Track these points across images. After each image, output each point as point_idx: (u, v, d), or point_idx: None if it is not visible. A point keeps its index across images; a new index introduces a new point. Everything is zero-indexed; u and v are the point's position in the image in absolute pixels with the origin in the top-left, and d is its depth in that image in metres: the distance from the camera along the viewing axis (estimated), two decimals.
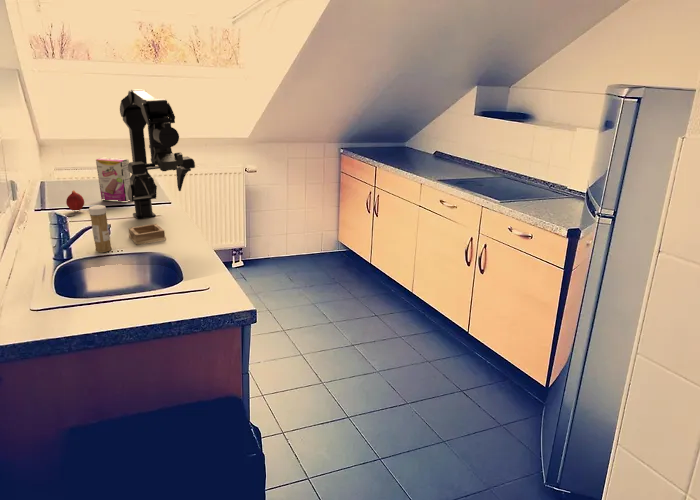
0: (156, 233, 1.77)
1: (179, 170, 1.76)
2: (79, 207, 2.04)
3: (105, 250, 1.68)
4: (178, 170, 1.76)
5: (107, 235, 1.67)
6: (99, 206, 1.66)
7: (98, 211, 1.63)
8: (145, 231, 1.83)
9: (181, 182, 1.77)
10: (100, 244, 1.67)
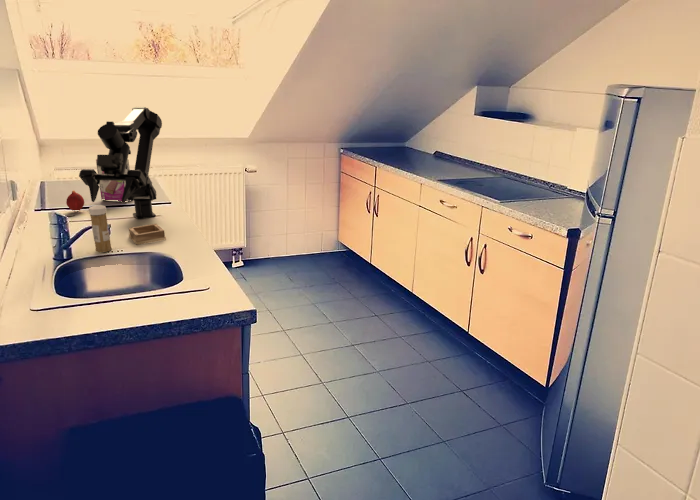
0: (156, 233, 1.77)
1: None
2: (79, 207, 2.04)
3: (105, 250, 1.68)
4: None
5: (107, 235, 1.67)
6: (99, 206, 1.66)
7: (98, 211, 1.63)
8: (145, 231, 1.83)
9: (125, 191, 1.72)
10: (100, 244, 1.67)
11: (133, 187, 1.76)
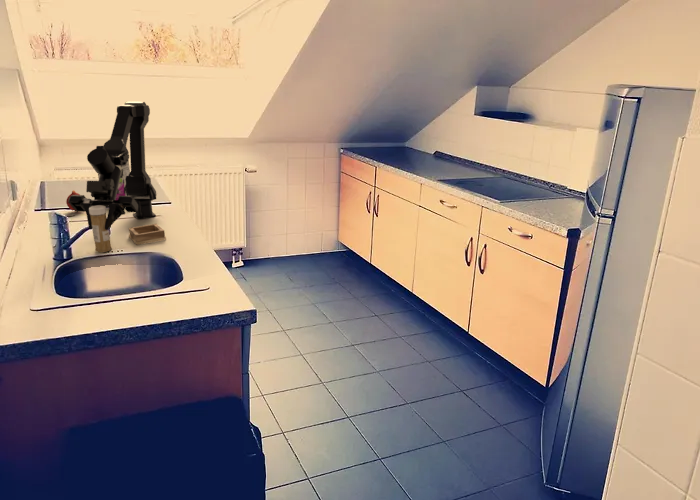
0: (156, 233, 1.77)
1: None
2: None
3: (105, 250, 1.68)
4: None
5: (107, 235, 1.67)
6: (99, 206, 1.66)
7: (98, 211, 1.63)
8: (145, 231, 1.83)
9: (108, 218, 1.66)
10: (100, 244, 1.67)
11: (117, 213, 1.69)
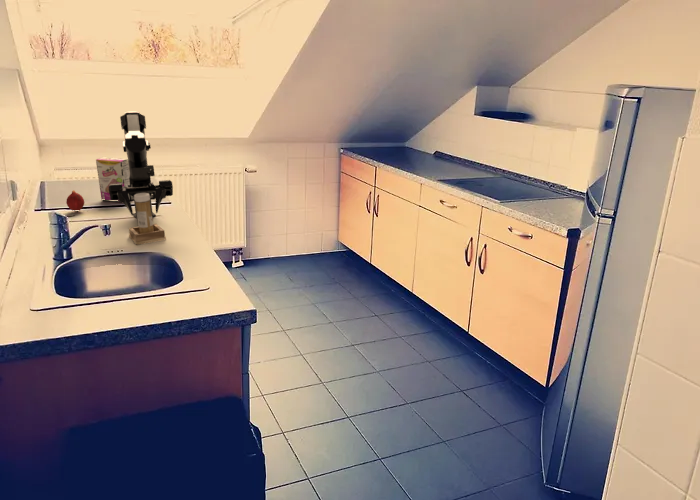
0: (156, 233, 1.77)
1: None
2: (79, 207, 2.04)
3: None
4: None
5: (152, 220, 1.79)
6: (143, 193, 1.76)
7: (146, 198, 1.74)
8: None
9: (157, 202, 1.78)
10: (147, 229, 1.77)
11: (160, 197, 1.81)
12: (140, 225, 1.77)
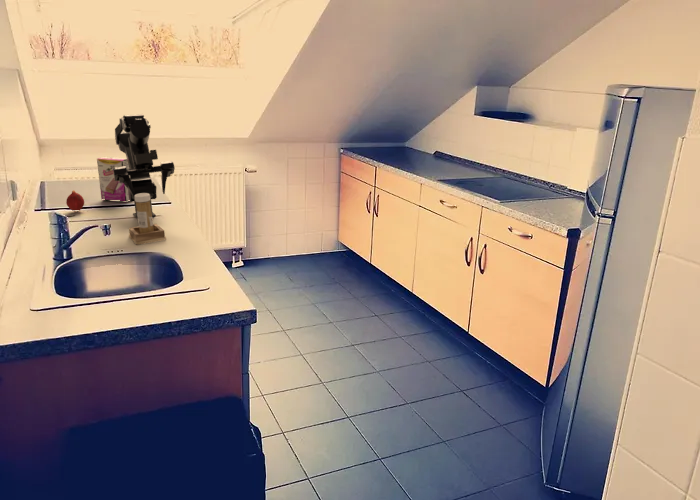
0: (156, 233, 1.77)
1: (161, 174, 1.88)
2: (79, 207, 2.04)
3: None
4: (161, 175, 1.89)
5: (152, 220, 1.79)
6: (143, 193, 1.76)
7: (146, 198, 1.74)
8: None
9: (164, 184, 1.87)
10: (147, 229, 1.77)
11: None
12: (140, 225, 1.77)
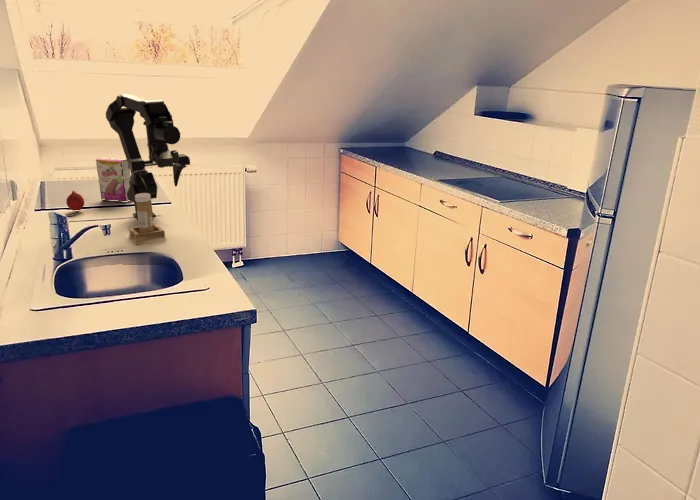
0: (156, 233, 1.77)
1: (175, 166, 1.89)
2: (79, 207, 2.04)
3: None
4: (175, 166, 1.89)
5: (152, 220, 1.79)
6: (143, 193, 1.76)
7: (147, 198, 1.74)
8: None
9: (177, 178, 1.89)
10: (148, 229, 1.77)
11: None
12: (140, 225, 1.77)
